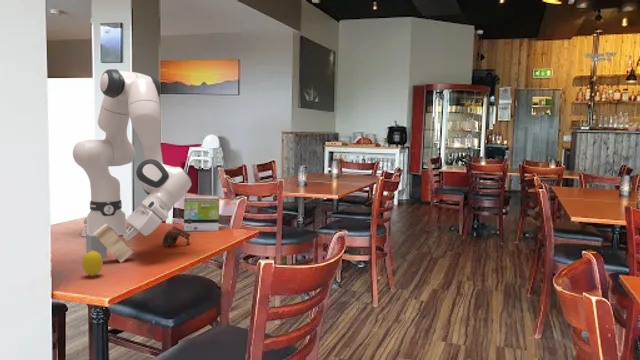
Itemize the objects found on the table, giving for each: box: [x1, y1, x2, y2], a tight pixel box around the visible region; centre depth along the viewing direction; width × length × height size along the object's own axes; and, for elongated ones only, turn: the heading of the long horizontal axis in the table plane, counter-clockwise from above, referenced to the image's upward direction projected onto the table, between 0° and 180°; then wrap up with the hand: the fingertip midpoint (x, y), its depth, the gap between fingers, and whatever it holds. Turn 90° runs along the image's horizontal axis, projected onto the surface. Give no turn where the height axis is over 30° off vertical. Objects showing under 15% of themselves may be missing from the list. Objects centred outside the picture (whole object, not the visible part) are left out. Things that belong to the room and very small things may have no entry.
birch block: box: [94, 224, 134, 263], centre depth 170 cm, size 5×5×12 cm
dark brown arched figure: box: [162, 225, 191, 248], centre depth 196 cm, size 12×9×8 cm
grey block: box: [85, 233, 108, 259], centre depth 176 cm, size 5×5×8 cm
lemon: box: [82, 250, 104, 278], centre depth 153 cm, size 6×6×8 cm
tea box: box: [183, 194, 220, 232], centre depth 229 cm, size 15×10×15 cm, turn 104°
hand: (124, 238), depth 172 cm, fingers closed
